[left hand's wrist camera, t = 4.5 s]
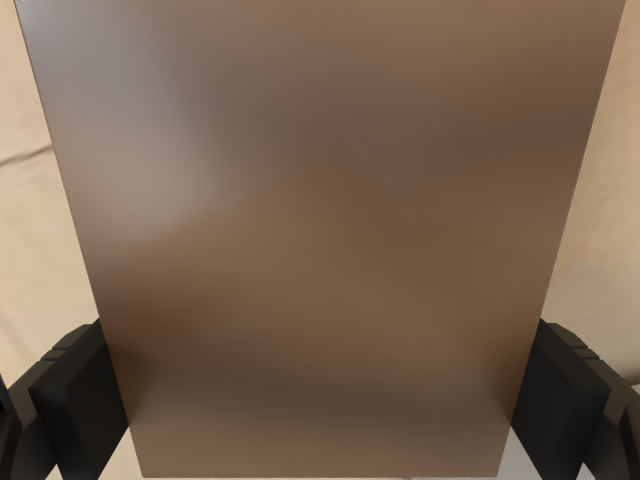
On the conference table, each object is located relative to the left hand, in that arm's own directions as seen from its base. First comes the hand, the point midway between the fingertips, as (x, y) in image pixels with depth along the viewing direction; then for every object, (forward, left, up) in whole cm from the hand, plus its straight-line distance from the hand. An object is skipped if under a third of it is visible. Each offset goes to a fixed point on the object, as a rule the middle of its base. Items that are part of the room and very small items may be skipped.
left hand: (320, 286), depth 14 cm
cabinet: (+6, +2, -7) cm, 10 cm away
